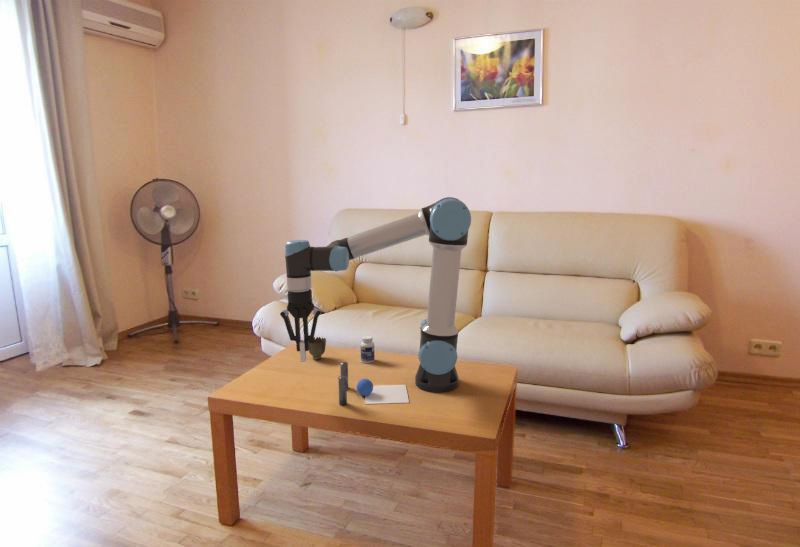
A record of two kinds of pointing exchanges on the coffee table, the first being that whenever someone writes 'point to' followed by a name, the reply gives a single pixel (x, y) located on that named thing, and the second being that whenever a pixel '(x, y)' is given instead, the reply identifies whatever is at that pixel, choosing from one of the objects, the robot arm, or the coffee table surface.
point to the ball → (364, 387)
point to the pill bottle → (367, 349)
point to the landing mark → (387, 394)
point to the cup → (317, 347)
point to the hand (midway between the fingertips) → (303, 360)
